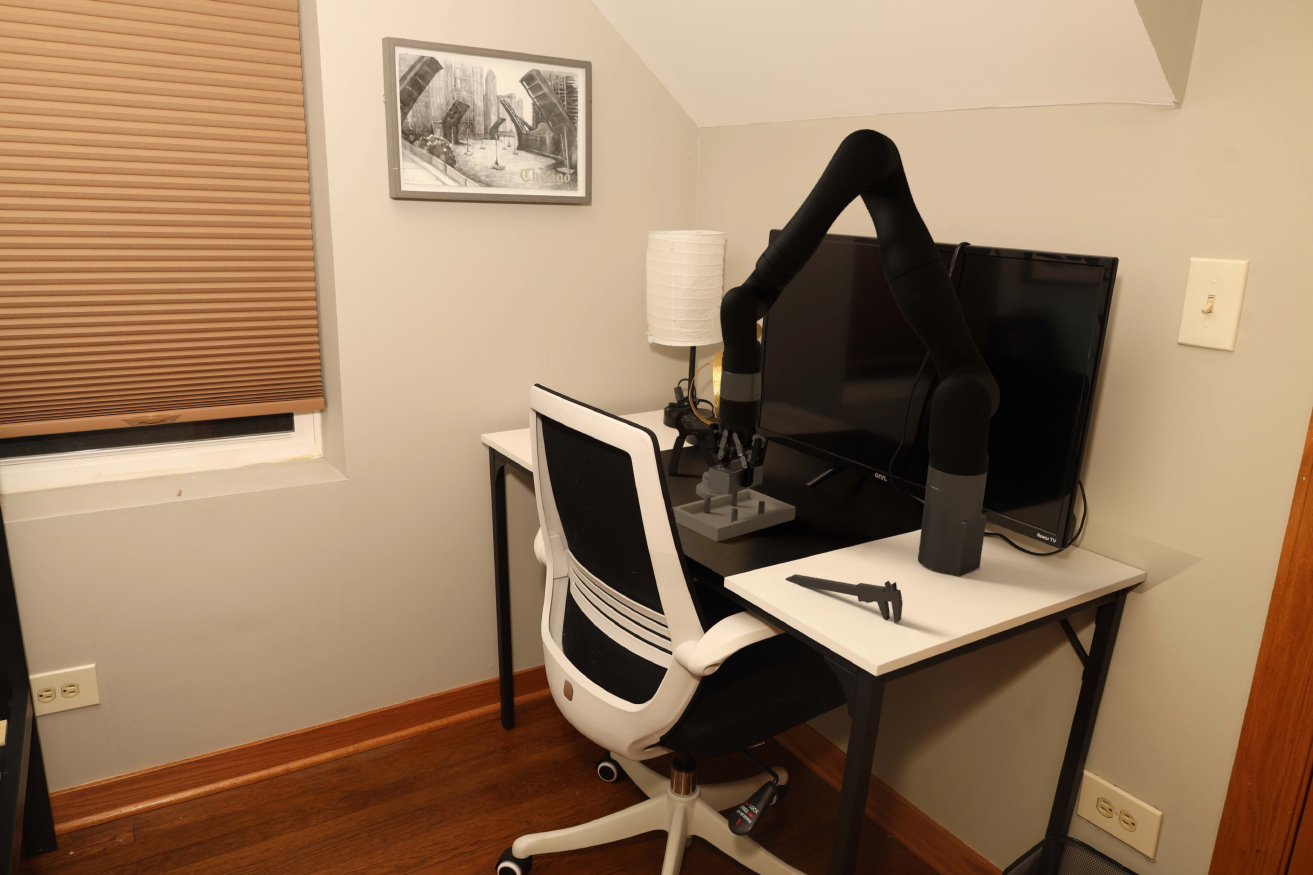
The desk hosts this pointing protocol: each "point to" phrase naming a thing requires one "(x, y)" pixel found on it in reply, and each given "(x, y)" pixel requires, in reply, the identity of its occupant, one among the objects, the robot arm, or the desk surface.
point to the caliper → (859, 592)
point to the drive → (731, 477)
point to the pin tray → (733, 514)
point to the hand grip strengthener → (680, 442)
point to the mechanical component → (706, 488)
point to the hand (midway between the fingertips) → (735, 481)
